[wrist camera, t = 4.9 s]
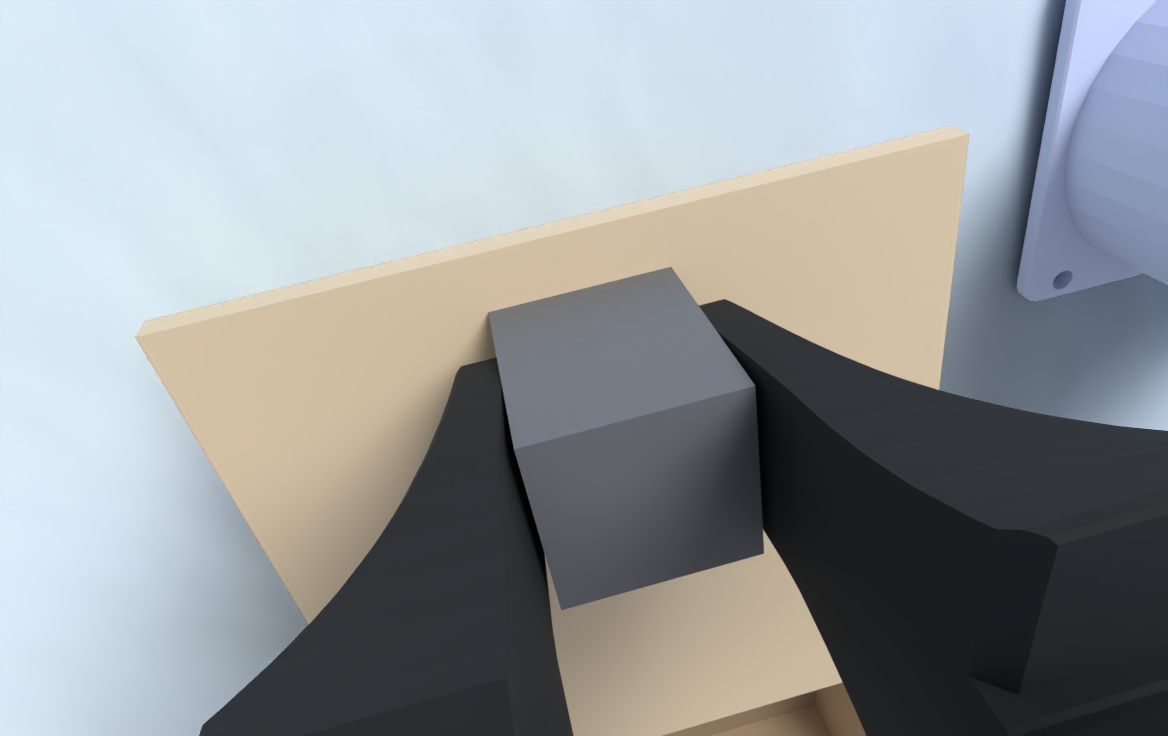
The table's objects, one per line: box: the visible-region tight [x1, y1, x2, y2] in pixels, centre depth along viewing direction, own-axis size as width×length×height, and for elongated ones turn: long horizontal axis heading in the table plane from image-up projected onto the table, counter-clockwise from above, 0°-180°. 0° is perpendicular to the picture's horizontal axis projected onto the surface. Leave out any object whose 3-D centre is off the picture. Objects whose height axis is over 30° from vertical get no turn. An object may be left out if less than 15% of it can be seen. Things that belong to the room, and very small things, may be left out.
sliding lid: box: [135, 126, 969, 736], centre depth 14 cm, size 13×14×4 cm
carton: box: [663, 682, 866, 736], centre depth 22 cm, size 13×14×4 cm
